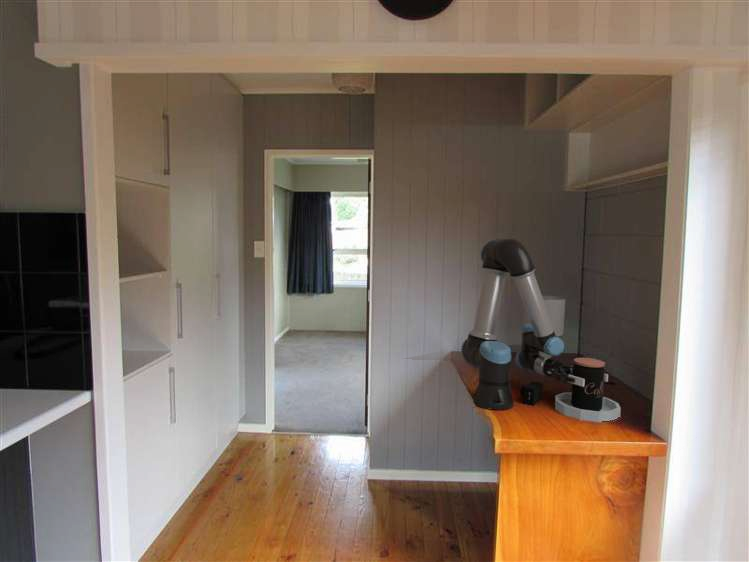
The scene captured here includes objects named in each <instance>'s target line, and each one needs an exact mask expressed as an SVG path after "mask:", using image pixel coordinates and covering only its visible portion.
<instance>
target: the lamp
mask: <svg viewBox="0 0 749 562" xmlns="http://www.w3.org/2000/svg"><path fill="white" fill-rule="evenodd" d="M542 298H543V300H544V303H545V306H546V309H547V312H548V315H549V318H550V320H551V323H552V326H553V329H554V332H555V334H556V337H560V336H563V335H564V329H565V328H564V327H565V315H566V314H565V311H566V298H564V297H561V296H554V295H553V296H552V295H542ZM525 324H531V323H530V320H529V317H528V315H527V312H526V309H525V306H524V305H523V310H522V327H523V326H524V325H525ZM540 355H542V356H546V357H550V358H553V356H551V355H547V354H545V353H543V352H541V351H540Z"/></svg>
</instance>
